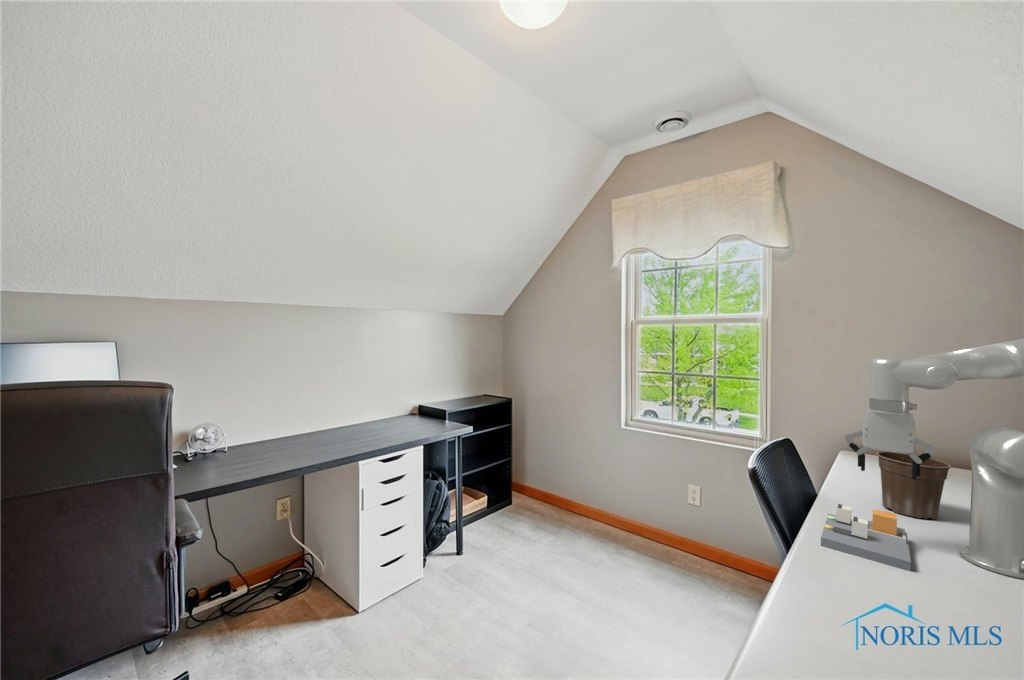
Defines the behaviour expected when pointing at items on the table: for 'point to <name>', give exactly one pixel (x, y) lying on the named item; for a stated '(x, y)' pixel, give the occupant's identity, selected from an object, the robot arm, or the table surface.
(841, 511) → the toggle
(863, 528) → the cube with dark stripe
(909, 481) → the plant pot
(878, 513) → the cap
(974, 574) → the table surface
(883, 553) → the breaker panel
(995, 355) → the robot arm
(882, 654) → the table surface
